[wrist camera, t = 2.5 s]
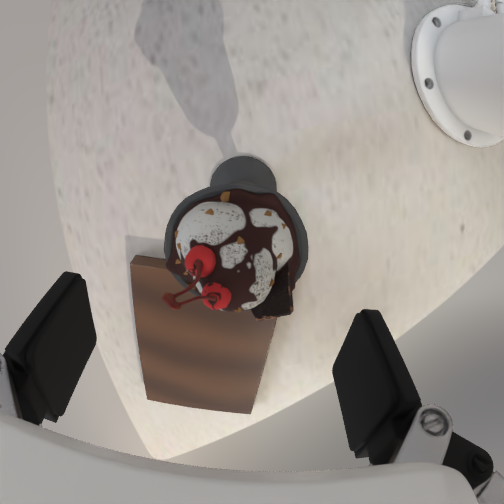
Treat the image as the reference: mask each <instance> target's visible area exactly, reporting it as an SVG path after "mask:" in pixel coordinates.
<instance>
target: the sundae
mask: <svg viewBox="0 0 504 504" xmlns="http://www.w3.org/2000/svg"><path fill="white" fill-rule="evenodd" d="M164 252H165V257H166V268H167V269H168V271H169V272H171V274H172V275H173V277H174V278H175V279H176V280H177V282H178V283H179V284H180V285H181V286H182V287H184V288H185V289H184V290H182V291H180V292H178V293H176V294H172V293H167V292H165V294H164V295H163V296H162V300H163V301H164V302H165V303H166V304H167V305H168V306H169V307H170V308H171V309H172V310H177V309H181V306H182V305H184V304H187V303H190V302H192V301H195V300H199V299H202V301H203V302H204V304H205V305H206V306H208V307H209V308H210V309H213V310H218V309H219V310H222V311H226V312H238V313H239V312H240V311H249V310H251V312H252V313H253V315H254V317H255V319H256V320H257V321H261V320H267V319H273V318H277V317H280V316H285V315H290V314H291V313H292V312H293V298H292V291H293V290H294V288H295V283H296V281H297V280H298V279H299V278H300V277H301V275H302V273H303V271H304V269H305V266H306V263H307V260H308V239H307V233H306V230H305V228H304V225H303V223H302V220H301V218H300V216H299V215H298V213H297V211H296V209H295V208H294V207H293V206H292V205H291V203H290V202H289V201H288V200H287V199H286V198H285V197H283V196H282V195H281V194H279V193H278V192H276V181H275V178H274V176H273V174H272V172H271V170H270V169H269V167H267V166H266V165H265V164H264V163H262V162H261V161H259V160H257V159H254V158H251V157H246V156H243V157H235V158H231V159H229V160H227V161H225V162H224V163H222V164H221V165H220V166H219V167H218V168H217V169H216V171H215V172H214V174H213V176H212V179H211V184H210V187H207V188H205V189H202V190H200V191H198V192H195V193H194V194H192V195H190V196H188V197H187V198H185V199H184V200H183V201H182V202H181V203H180V204H179V205H178V206H177V208H176V209H175V211H174V212H173V213H172V215H171V218H170V220H169V222H168V224H167V228H166V233H165V242H164ZM188 291H189V292H190V293H192V294H193V295H195V296H197V297H194V298H191V299H189V300H186V301H183V302H176V299H175V298H177V297H178V296H180V295H182V294H184V293H186V292H188Z"/></svg>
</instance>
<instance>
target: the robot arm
mask: <svg viewBox="0 0 504 504" xmlns="http://www.w3.org/2000/svg"><path fill="white" fill-rule="evenodd" d="M491 3H492V0H477V4H476V5H474V7H472V8H470V7H467V6H463V5H446V6H442V7H439V8H437V9H434V10H432V11H430V12H429V13H428V14H427V15H426V16H425V17H423V18H422V20H421V22H420V23H419V25H418V26H417V28H416V31H415V34H414V37H413V41H412V49H411V62H412V71H413V76H414V82H415V84H416V87H417V90H418V93H419V96H420V98H421V100H422V102H423V104H424V106H425V108H426V110H427V112H428V113H429V115H430V116H431V118H432V119H433V121H434V122H435V123H436V124H437V125H438V126H439V127H440V128H441V129H442V131H444V132H445V133H446V134H448V135H449V136H450V137H451V138H453V139H455V140H457V141H459V142H461V143H463V144H466V145H469V146H472V147H480V148H484V147H490V146H493V145H495V144H498V143H500V142H501V141H502V140H504V0H495V6H496V13H495V12H494V11H493V10H492V9H491ZM424 81H425V82H426V85H425V82H424ZM96 340H97V337H96V332H95V327H94V323H93V318H92V313H91V308H90V303H89V298H88V292H87V286H86V281H85V279H82V276H81V275H80V274H78V273H72V272H67V271H66V272H64V273H63V274H62V275H61V276H60V278H58V280H57V281H56V282H55V283H54V284H53V286H52V287H51V288H50V289H49V291H48V292H47V293H46V294H45V296H44V297H43V298H42V299H41V301H40V302H39V303H38V304H37V306H36V307H35V308H34V310H33V311H32V312H31V313H30V315H29V316H28V317H27V319H26V320H25V321H24V323H23V324H22V326H21V327H20V328H19V330H18V331H17V332H16V334H15V335H14V337H13V338H12V339H11V341H10V342H9V344H8V345H7V347H6V348H5V353H4V354H3V355H2V354H1V353H0V504H504V477H503V476H502V475H501V474H500V473H499V472H498V471H495V472H493V461H492V459H491V457H490V455H489V454H488V453H487V452H486V451H485V450H483V449H482V448H480V447H478V446H476V445H475V444H473V443H471V442H470V441H468V440H466V439H464V438H462V437H461V436H459V435H457V434H456V433H454V432H452V431H453V422H452V419H451V417H450V415H449V414H448V413H447V411H446V410H445V409H443V408H442V407H440V406H437V405H435V404H427V405H424V406H422V404H421V401H420V400H421V399H420V397H419V395H418V392H417V390H416V387H415V385H414V383H413V381H412V378H411V376H410V374H409V372H408V370H407V367H406V365H405V363H404V361H403V358H402V356H401V354H400V352H399V350H398V348H397V346H396V344H395V342H394V339H393V337H392V335H391V333H390V331H389V329H388V327H387V325H386V323H385V321H384V319H383V317H382V315H381V313H380V312H379V311H378V310H369V309H363V310H362V311H361V312H360V313H357V314H356V315H355V317H354V320H353V322H352V325H351V327H350V329H349V331H348V334H347V336H346V338H345V341H344V343H343V345H342V347H341V350H340V352H339V354H338V356H337V358H336V360H335V362H334V365H333V370H332V373H333V378H334V382H335V386H336V389H337V394H338V399H339V403H340V407H341V411H342V415H343V420H344V425H345V429H346V434H347V438H348V443H349V447H350V450H351V451H354V453H355V457H356V458H364V457H369V461H370V465H369V466H367V467H358V468H348V469H336V470H320V471H298V472H297V471H296V472H266V471H241V470H227V469H216V468H206V467H198V466H190V465H183V464H177V463H171V462H165V461H159V460H154V459H149V458H144V457H140V456H135V455H130V454H126V453H122V452H118V451H114V450H111V449H107V448H103V447H100V446H96V445H93V444H90V443H86V442H83V441H80V440H77V439H74V438H71V437H68V436H65V435H62V434H59V433H56V432H53V431H51V430H48V429H45V428H43V427H42V425H41V424H42V421H43V419H44V418H45V419H47V420H50V421H53V422H55V423H56V422H57V420H58V417H59V416H62V415H63V414H64V412H65V410H66V408H67V405H68V403H69V401H70V398H71V396H72V394H73V392H74V389H75V387H76V385H77V383H78V381H79V378H80V376H81V374H82V372H83V370H84V368H85V365H86V363H87V361H88V359H89V357H90V355H91V353H92V351H93V349H94V347H95V345H96Z"/></svg>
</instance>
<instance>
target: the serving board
mask: <svg viewBox="0 0 504 504" xmlns="http://www.w3.org/2000/svg"><path fill="white" fill-rule="evenodd" d="M130 270H131V284H132V295H133V305H134V315H135V323H136V332H137V339H138V346H139V353H140V360H141V366H142V372H143V378H144V384H145V389H146V395H147V399H148V400H152V401H157V402H162V403H168V404H174V405H180V406H186V407H192V408H199V409H206V410H214V411H223V412H232V413H243V414H251V411H252V408H253V405H254V401H255V398H256V394H257V390H258V387H259V383H260V380H261V376H262V372H263V369H264V365H265V361H266V358H267V354H268V350H269V347H270V343H271V339H272V335H273V331H274V327H275V324H276V320H277V318H273V319H267V320H261V321H257V320H256V319H255V317H254V315H253V313H252V312H251V310H249V311H240V312H239V313H238V312H226V311H222V310H219V309H218V310H213V309H210V308H209V307H208V306H206V305H205V304H204V302H203V301H202V299H199V300H195V301H192V302H190V303H187V304H184V305H182V306H181V309H177V310H172V309H171V308H170V307H169V306H168V305H167V304H166V303H165V302H164V301H163V300H162V296H163V295H164V294H165V292H167V293H172V294H176V293H178V292H180V291H182V290H184V289H185V288H184V287H182V286H181V285H180V284H179V283H178V282H177V280H176V279H175V278H174V277H173V275H172V274H171V272H169V271H168V269H167V268H166V260H165V259H158V258H151V257H144V256H137V255H135V257H134V258H133V260H132V261H131V263H130ZM194 297H197V296H195V295H193V294H192V293H190V292H189V291H188V292H186V293H184V294H182V295H180V296H178V297H177V298H175V299H176V302H183V301H186V300H189V299H191V298H194Z"/></svg>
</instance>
